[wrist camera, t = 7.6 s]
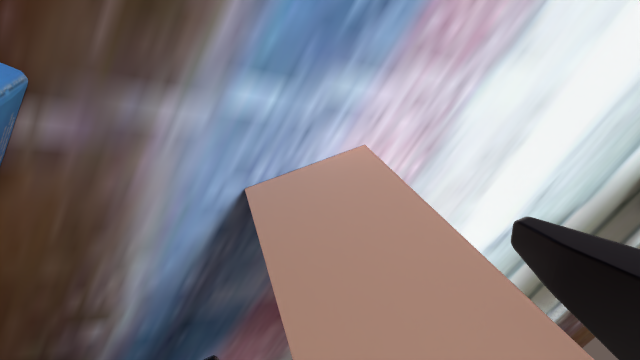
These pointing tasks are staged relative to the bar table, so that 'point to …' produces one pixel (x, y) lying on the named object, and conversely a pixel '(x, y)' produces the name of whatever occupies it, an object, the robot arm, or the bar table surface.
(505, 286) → the tile
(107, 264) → the bar table surface
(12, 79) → the ink box
